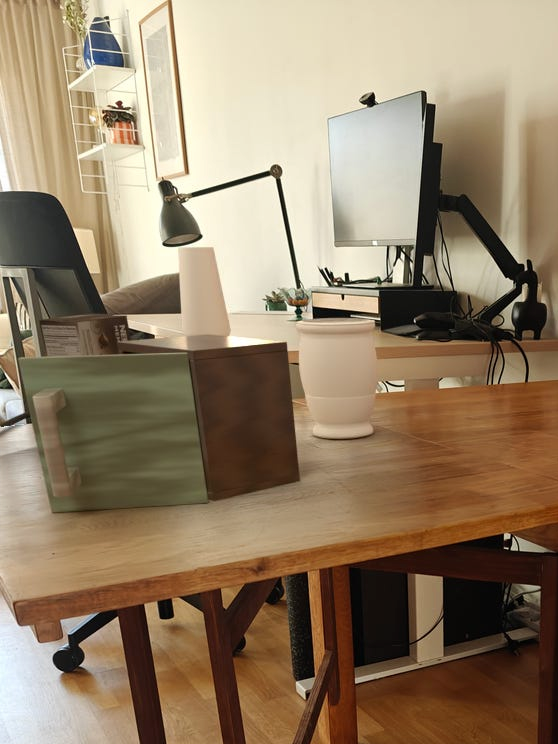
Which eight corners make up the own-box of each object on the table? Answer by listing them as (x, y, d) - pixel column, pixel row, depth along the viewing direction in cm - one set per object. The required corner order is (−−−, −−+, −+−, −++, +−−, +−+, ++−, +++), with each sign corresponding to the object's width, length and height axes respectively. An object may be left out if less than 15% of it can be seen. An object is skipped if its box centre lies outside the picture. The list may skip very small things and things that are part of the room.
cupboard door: (204, 517, 83) (182, 359, 77) (38, 528, 80) (1, 364, 74) (208, 501, 88) (187, 352, 82) (53, 510, 85) (20, 357, 79)
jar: (396, 431, 122) (391, 319, 116) (347, 444, 114) (338, 324, 108) (339, 424, 127) (332, 316, 121) (289, 436, 119) (278, 321, 113)
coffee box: (111, 436, 120) (89, 313, 113) (150, 439, 118) (129, 314, 111) (63, 450, 112) (35, 318, 106) (103, 453, 110) (77, 319, 104)
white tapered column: (194, 427, 126) (168, 247, 116) (196, 419, 132) (172, 247, 122) (241, 425, 128) (220, 247, 118) (241, 417, 134) (221, 247, 124)
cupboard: (214, 502, 88) (193, 350, 82) (140, 479, 97) (116, 341, 91) (300, 482, 96) (287, 341, 90) (224, 463, 105) (207, 334, 99)
